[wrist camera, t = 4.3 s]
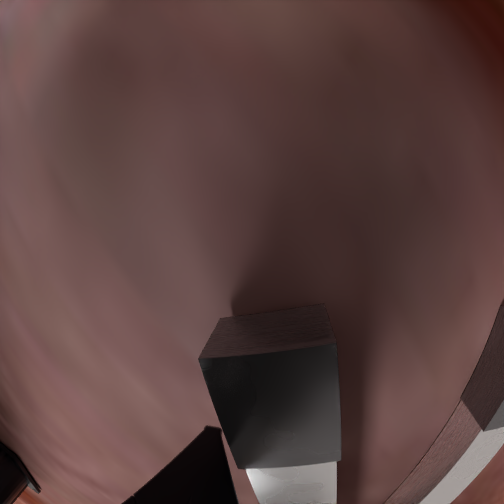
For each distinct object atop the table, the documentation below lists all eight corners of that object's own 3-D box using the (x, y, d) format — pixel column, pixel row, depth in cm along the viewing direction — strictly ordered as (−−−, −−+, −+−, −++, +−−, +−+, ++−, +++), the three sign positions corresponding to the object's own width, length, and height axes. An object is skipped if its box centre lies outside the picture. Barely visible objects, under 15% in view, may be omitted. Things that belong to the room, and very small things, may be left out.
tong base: (400, 518, 9) (405, 543, 7) (361, 524, 9) (363, 550, 7) (538, 310, 6) (570, 330, 4) (501, 305, 6) (537, 328, 5)
